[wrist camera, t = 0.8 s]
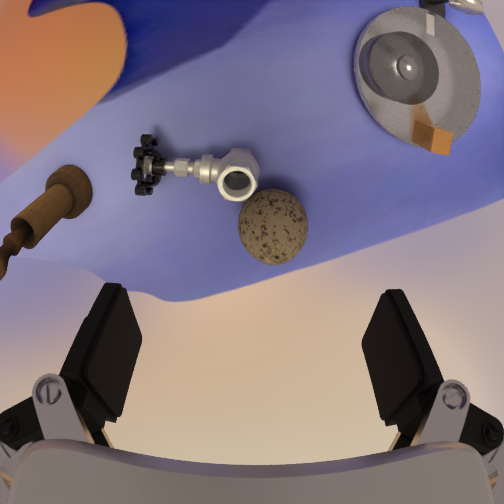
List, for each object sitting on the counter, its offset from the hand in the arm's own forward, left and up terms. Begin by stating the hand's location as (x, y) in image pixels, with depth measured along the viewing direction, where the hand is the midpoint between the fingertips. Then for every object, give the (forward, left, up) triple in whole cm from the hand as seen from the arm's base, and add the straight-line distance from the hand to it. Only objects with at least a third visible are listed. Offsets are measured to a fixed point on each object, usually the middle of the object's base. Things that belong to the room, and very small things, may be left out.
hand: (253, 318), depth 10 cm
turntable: (-10, +18, -22) cm, 30 cm away
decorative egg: (+7, +2, -24) cm, 25 cm away
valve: (+1, -5, -24) cm, 25 cm away
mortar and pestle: (+4, -23, -24) cm, 34 cm away
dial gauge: (-21, +20, -24) cm, 37 cm away
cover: (-10, +13, -21) cm, 27 cm away
